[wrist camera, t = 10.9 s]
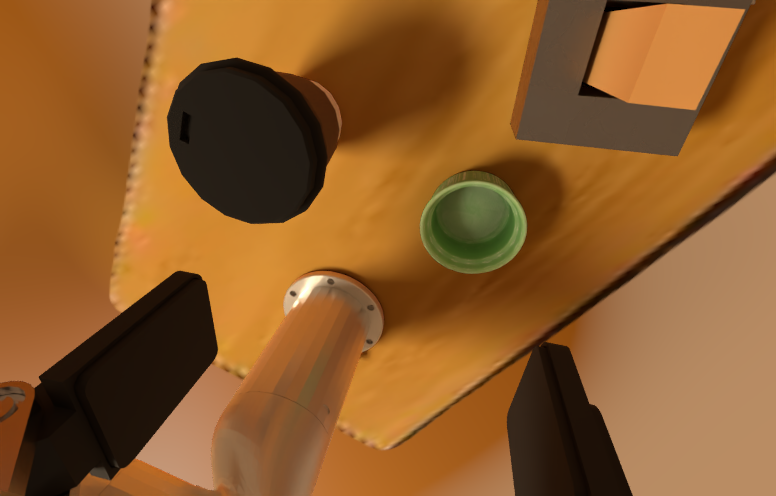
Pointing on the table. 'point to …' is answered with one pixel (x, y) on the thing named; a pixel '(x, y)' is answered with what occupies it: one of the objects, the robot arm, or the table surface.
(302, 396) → the robot arm
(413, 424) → the table surface
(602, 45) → the orange square peg
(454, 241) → the ramekin
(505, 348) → the table surface
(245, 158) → the coffee cup
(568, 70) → the grey square frame
